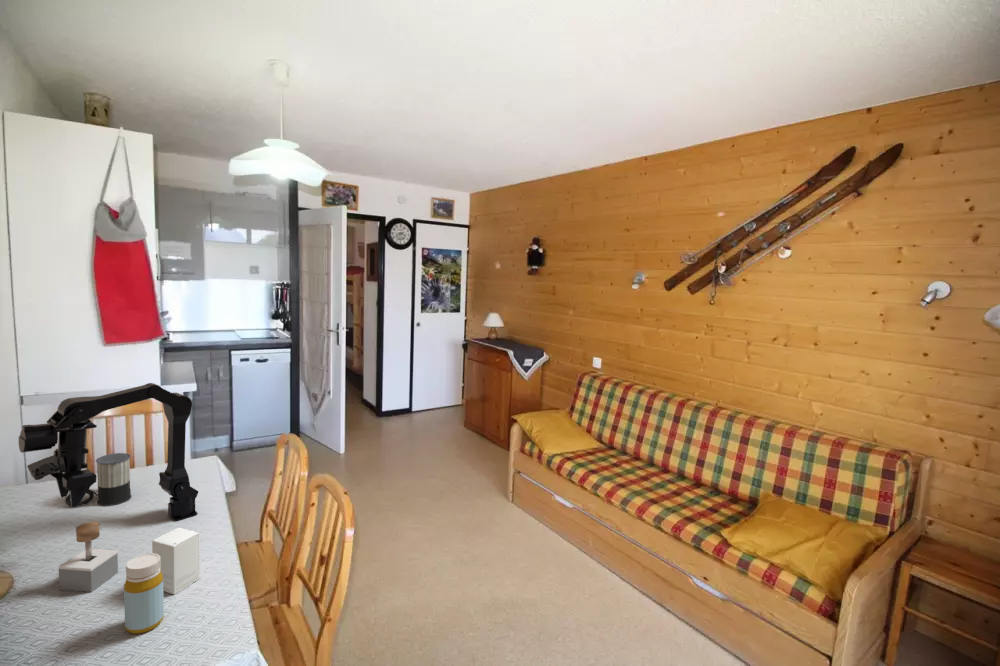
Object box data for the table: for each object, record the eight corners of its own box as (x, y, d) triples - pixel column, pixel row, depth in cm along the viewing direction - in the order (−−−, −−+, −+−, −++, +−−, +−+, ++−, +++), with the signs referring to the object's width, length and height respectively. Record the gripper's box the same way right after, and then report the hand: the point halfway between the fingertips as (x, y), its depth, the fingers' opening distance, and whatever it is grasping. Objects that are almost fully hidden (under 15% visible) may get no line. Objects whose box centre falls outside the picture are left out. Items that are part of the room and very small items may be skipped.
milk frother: (136, 499, 167) (135, 457, 165) (78, 517, 154) (76, 471, 152) (118, 488, 175) (117, 447, 173) (61, 503, 161) (59, 459, 160)
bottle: (138, 613, 114) (136, 552, 112) (170, 613, 114) (169, 552, 113) (117, 635, 107) (115, 570, 105) (151, 635, 107) (150, 570, 106)
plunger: (87, 554, 126) (86, 521, 125) (104, 556, 125) (103, 522, 125) (72, 564, 121) (71, 529, 120) (90, 566, 121) (88, 531, 120)
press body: (87, 570, 128) (86, 548, 127) (117, 572, 128) (117, 550, 127) (59, 589, 120) (58, 566, 119) (91, 592, 120) (90, 568, 119)
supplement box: (200, 578, 127) (200, 532, 126) (173, 595, 120) (172, 546, 119) (179, 571, 130) (179, 526, 128) (151, 588, 123) (150, 539, 121)
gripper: (22, 442, 132) (19, 499, 133) (42, 460, 122) (39, 522, 122) (75, 435, 141) (72, 489, 142) (98, 452, 131) (95, 509, 132)
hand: (69, 501), depth 134 cm, fingers open, 9 cm apart
